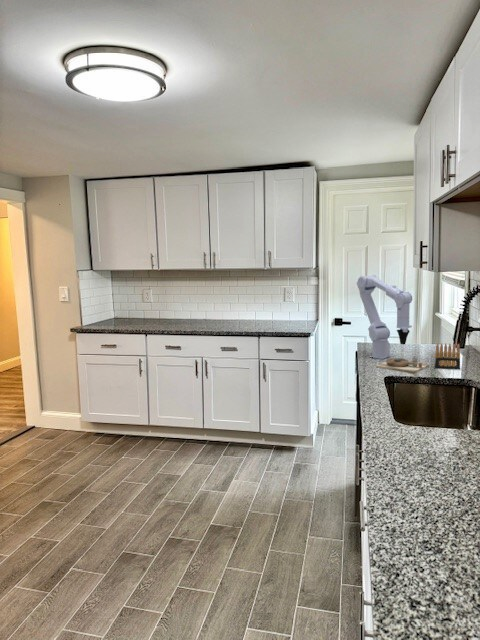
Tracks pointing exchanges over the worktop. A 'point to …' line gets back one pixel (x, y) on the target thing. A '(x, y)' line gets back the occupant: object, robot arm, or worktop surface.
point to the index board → (404, 367)
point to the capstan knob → (401, 362)
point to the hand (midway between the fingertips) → (402, 344)
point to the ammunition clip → (445, 361)
